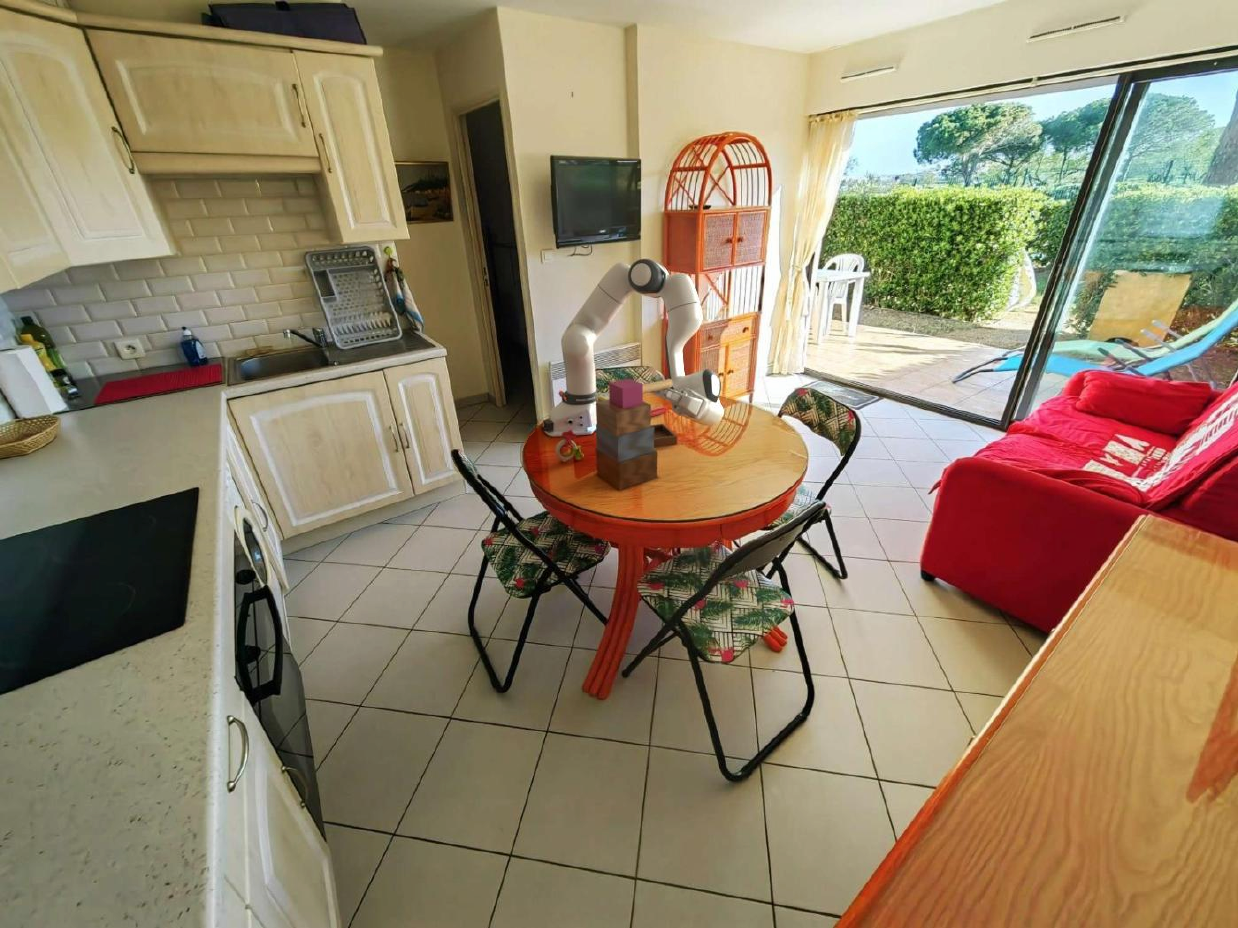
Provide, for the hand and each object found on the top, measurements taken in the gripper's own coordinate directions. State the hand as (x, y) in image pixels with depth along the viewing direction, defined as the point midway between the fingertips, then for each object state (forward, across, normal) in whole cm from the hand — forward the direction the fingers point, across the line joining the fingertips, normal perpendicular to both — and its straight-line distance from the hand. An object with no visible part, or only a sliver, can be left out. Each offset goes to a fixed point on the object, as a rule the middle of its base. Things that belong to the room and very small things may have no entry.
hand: (656, 388), depth 153 cm
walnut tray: (-23, -18, +17) cm, 34 cm away
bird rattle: (+4, -20, +33) cm, 39 cm away
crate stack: (-4, 0, +28) cm, 29 cm away
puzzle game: (-30, -53, +13) cm, 62 cm away
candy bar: (-36, -37, +10) cm, 52 cm away
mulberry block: (+3, 0, +4) cm, 5 cm away
